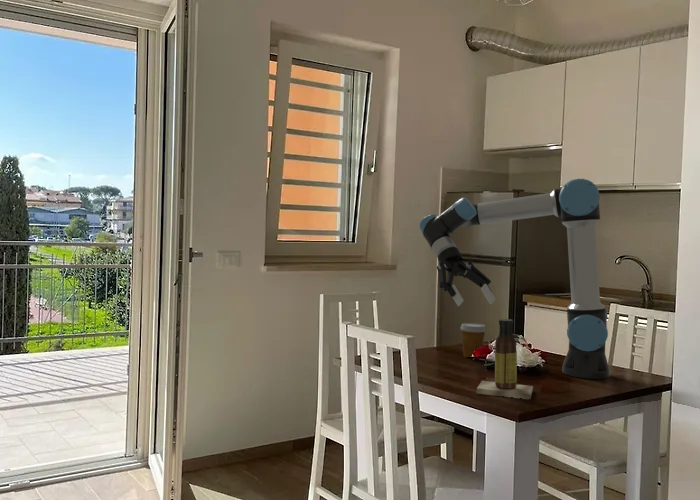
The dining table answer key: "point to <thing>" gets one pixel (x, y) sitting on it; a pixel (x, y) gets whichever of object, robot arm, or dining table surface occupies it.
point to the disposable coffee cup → (472, 337)
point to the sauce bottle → (505, 356)
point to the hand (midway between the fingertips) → (477, 302)
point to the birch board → (505, 390)
